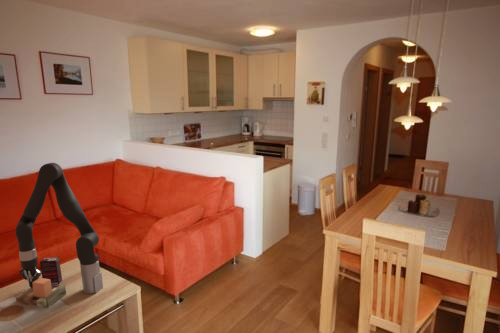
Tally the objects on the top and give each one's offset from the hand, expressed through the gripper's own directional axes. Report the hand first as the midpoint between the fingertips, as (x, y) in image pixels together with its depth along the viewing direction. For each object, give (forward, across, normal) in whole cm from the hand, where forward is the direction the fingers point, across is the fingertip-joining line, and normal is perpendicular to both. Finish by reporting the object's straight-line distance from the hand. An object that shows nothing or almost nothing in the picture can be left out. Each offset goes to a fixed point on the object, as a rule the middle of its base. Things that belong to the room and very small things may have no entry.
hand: (32, 286), depth 173 cm
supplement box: (+6, 0, -13) cm, 15 cm away
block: (+3, -7, 0) cm, 7 cm away
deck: (+6, -5, 0) cm, 8 cm away
